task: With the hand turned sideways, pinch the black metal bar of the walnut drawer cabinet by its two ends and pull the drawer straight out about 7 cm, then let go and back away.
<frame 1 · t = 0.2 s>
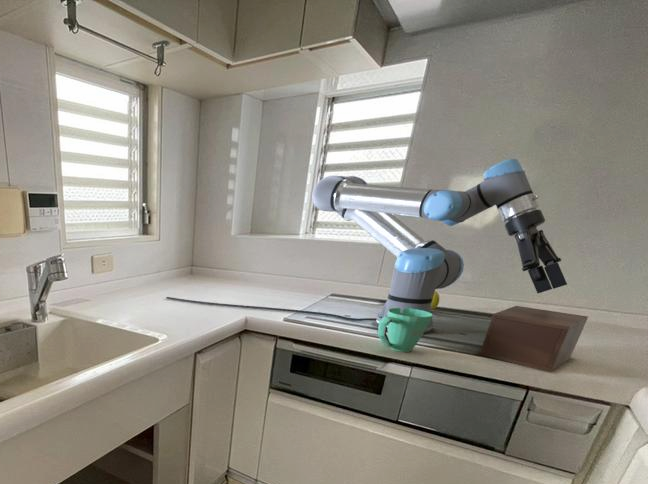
hand: (552, 289, 106), 15 cm above the countertop, tool tilted 35°, fingers open, 13 cm apart
lemon: (426, 312, 145), on the countertop
mug: (394, 350, 106), on the countertop
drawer: (538, 333, 102), point 5 cm above the countertop, slide at 0.3 cm
cabinet: (524, 356, 102), on the countertop
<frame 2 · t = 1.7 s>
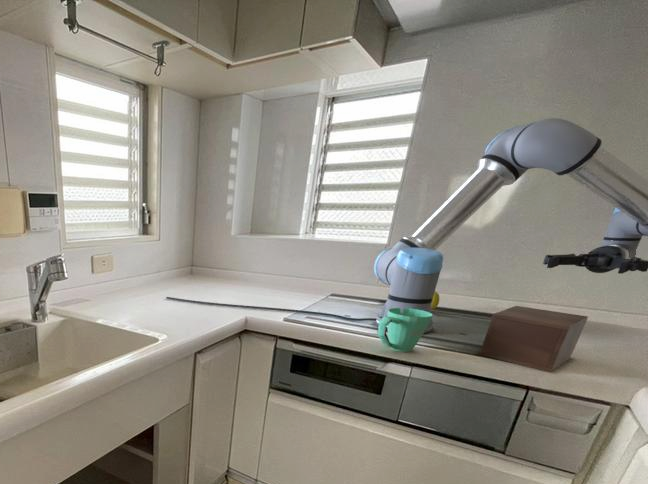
hand: (584, 265, 106), 21 cm above the countertop, tool horizontal, fingers open, 13 cm apart
nothing on the countertop moved.
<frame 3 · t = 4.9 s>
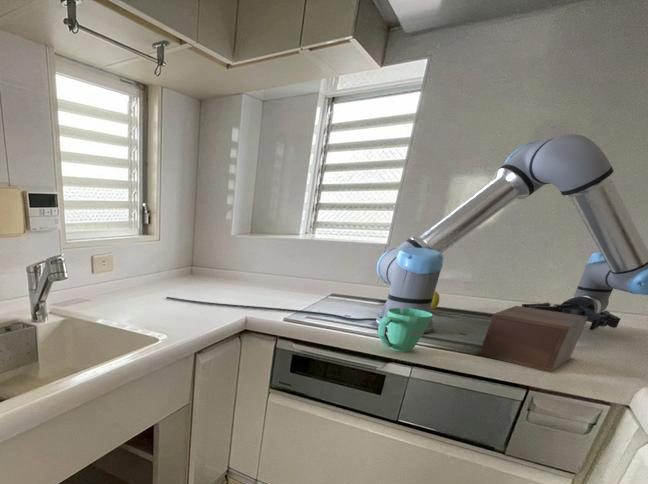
hand: (558, 319, 109), 7 cm above the countertop, tool horizontal, fingers open, 13 cm apart
nothing on the countertop moved.
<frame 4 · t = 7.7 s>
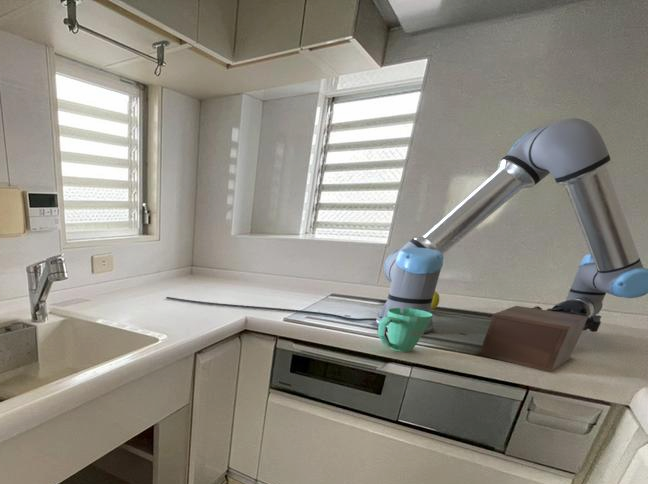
hand: (546, 324, 104), 7 cm above the countertop, tool horizontal, fingers closed on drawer, 9 cm apart
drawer: (537, 333, 102), point 5 cm above the countertop, slide at 0.1 cm, touching gripper
everything else where it was.
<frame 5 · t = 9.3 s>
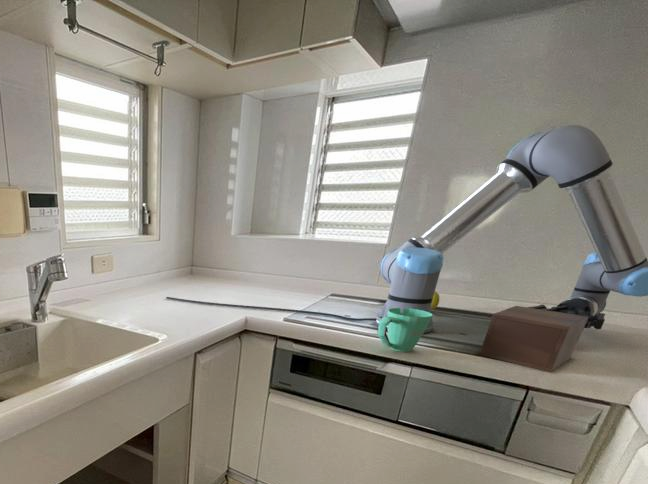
hand: (551, 322, 106), 7 cm above the countertop, tool horizontal, fingers closed on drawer, 9 cm apart
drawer: (542, 331, 104), point 5 cm above the countertop, slide at 4.1 cm, touching gripper
everything else where it was.
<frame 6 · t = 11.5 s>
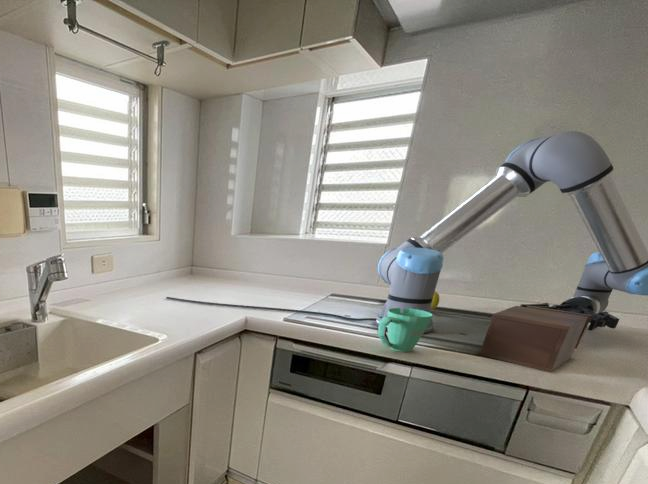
hand: (556, 319, 108), 7 cm above the countertop, tool horizontal, fingers open, 13 cm apart
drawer: (546, 329, 105), point 5 cm above the countertop, slide at 7.1 cm
everything else where it was.
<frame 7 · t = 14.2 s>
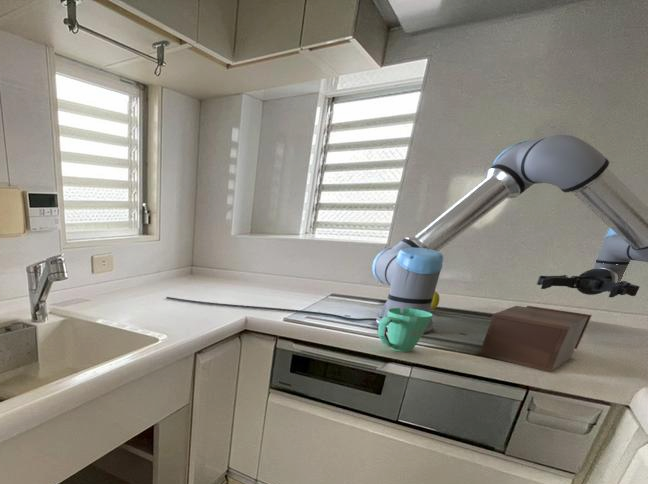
hand: (576, 287, 110), 15 cm above the countertop, tool horizontal, fingers open, 13 cm apart
nothing on the countertop moved.
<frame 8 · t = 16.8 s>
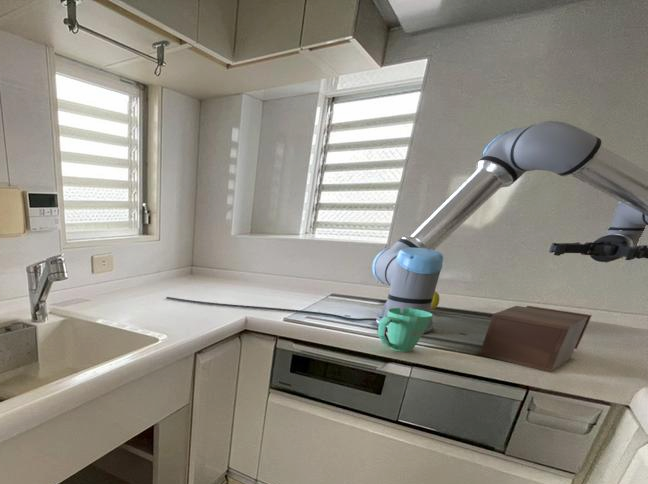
hand: (591, 252, 106), 24 cm above the countertop, tool horizontal, fingers open, 13 cm apart
nothing on the countertop moved.
at the end: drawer slide at 7.1 cm; the gripper is holding nothing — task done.
